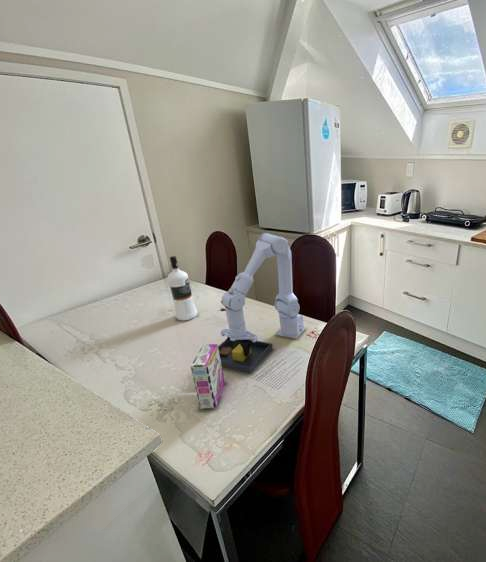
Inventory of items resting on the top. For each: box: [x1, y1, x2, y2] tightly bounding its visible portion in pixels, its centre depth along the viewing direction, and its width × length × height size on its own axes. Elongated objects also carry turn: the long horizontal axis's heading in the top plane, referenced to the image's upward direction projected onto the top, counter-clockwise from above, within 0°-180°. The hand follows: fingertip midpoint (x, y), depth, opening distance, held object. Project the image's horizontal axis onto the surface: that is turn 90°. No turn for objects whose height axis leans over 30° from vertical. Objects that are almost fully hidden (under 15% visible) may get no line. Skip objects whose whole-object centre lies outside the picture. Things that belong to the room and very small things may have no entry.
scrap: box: [219, 347, 233, 357], centre depth 120 cm, size 4×4×1 cm
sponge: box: [232, 344, 251, 362], centre depth 118 cm, size 4×6×4 cm, turn 162°
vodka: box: [166, 255, 198, 322], centre depth 142 cm, size 9×9×30 cm
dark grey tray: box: [218, 340, 273, 375], centre depth 118 cm, size 19×15×3 cm
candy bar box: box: [190, 343, 226, 410], centre depth 97 cm, size 11×5×16 cm, turn 5°
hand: (242, 353), depth 118 cm, fingers closed on sponge, 4 cm apart
